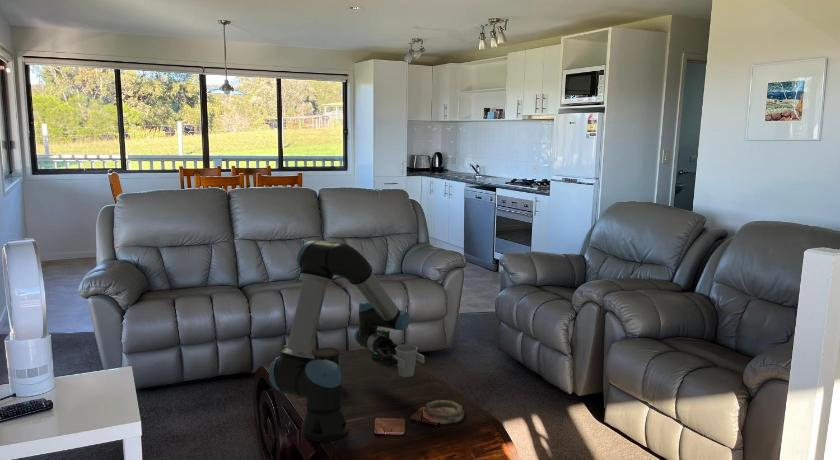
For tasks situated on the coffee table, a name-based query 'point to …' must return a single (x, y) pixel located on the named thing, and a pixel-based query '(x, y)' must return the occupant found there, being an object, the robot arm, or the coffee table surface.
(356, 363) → the coffee table surface
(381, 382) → the coffee table surface
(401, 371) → the dixie cup
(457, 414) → the rimmed coaster
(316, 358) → the coffee can
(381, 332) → the coffee box
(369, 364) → the coffee table surface
